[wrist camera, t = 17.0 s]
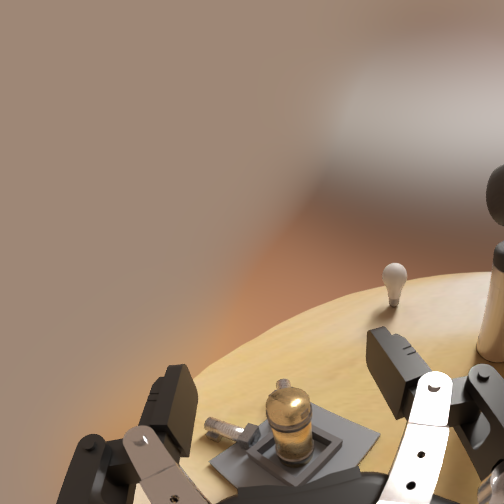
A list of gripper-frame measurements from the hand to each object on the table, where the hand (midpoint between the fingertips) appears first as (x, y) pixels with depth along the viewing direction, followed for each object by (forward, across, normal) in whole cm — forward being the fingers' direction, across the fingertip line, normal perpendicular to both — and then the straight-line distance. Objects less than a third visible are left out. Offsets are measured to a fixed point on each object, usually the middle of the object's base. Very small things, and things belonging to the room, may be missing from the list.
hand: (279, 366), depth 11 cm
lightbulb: (+44, -30, +28) cm, 60 cm away
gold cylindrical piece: (+11, 0, +27) cm, 29 cm away
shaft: (+16, +9, +28) cm, 33 cm away
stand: (+11, 0, +28) cm, 30 cm away
